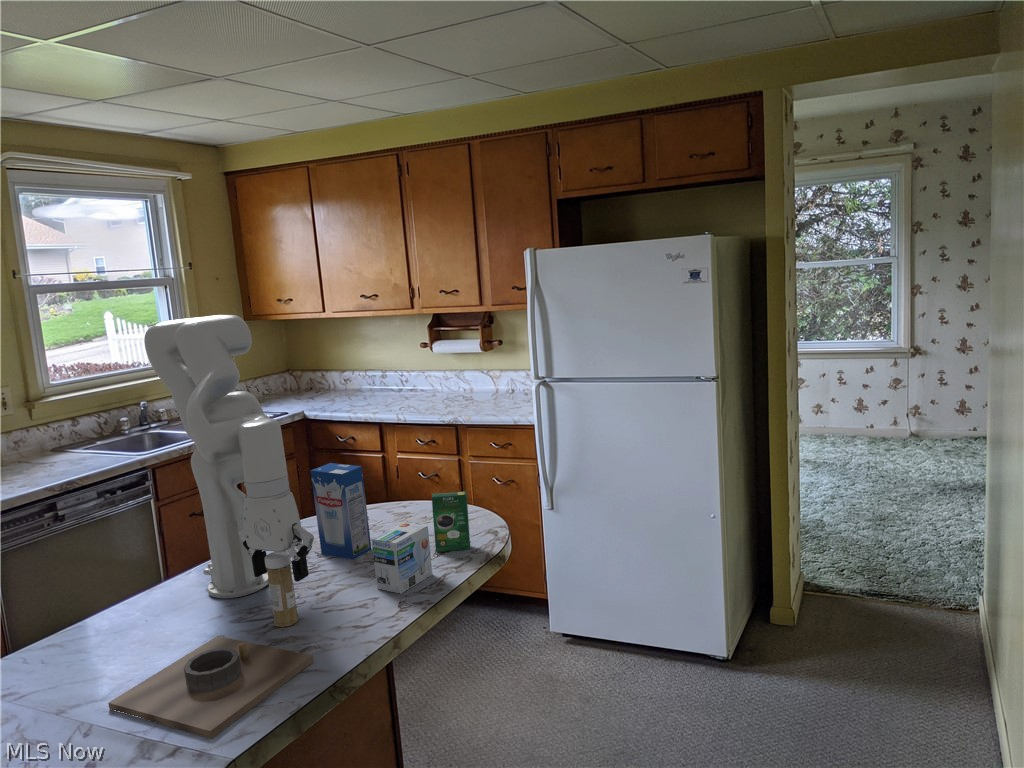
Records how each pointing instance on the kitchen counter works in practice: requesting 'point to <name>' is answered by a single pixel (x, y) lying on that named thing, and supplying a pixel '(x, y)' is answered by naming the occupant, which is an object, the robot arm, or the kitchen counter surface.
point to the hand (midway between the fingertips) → (281, 576)
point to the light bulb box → (402, 557)
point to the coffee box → (451, 521)
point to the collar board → (211, 704)
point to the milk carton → (341, 510)
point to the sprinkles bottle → (281, 588)
